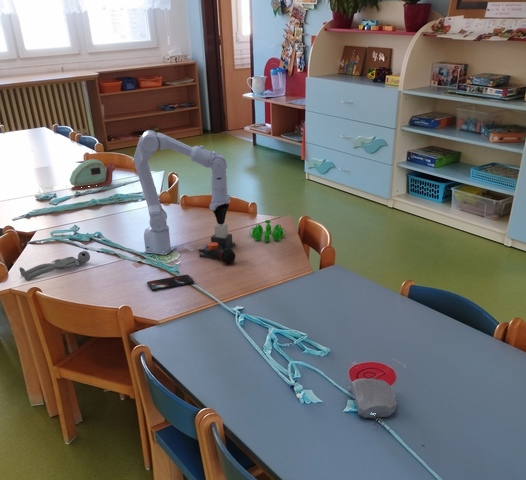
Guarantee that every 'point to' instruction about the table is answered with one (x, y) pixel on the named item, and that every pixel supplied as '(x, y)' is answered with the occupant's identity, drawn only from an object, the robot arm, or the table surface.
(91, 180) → the toy snail
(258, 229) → the chandelier
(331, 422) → the table surface
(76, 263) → the alien figure
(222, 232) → the block
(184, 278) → the smartphone
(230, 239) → the socket
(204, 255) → the adapter
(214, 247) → the power button
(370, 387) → the stone block
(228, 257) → the microphone
